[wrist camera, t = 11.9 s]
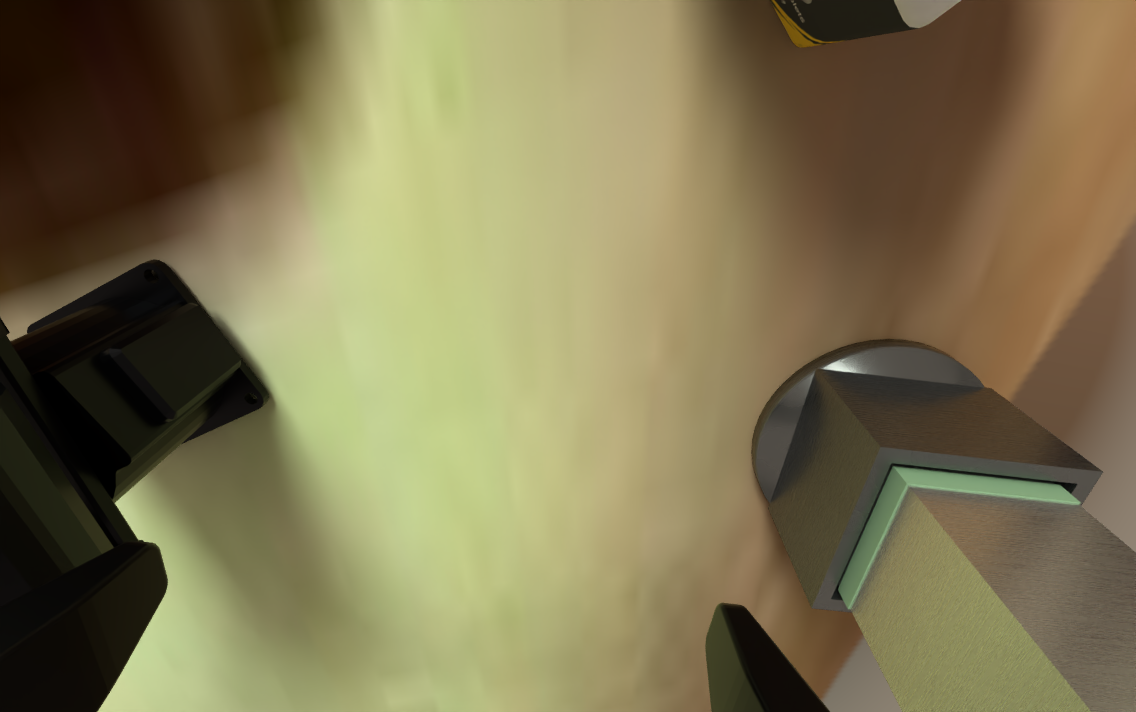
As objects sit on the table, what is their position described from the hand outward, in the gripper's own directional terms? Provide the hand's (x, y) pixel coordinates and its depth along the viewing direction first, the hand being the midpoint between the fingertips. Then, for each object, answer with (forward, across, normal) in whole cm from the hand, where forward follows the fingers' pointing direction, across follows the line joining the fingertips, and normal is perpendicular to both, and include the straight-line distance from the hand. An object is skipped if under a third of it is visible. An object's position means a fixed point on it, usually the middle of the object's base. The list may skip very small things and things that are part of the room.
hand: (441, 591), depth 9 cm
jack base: (+13, -14, +4) cm, 20 cm away
